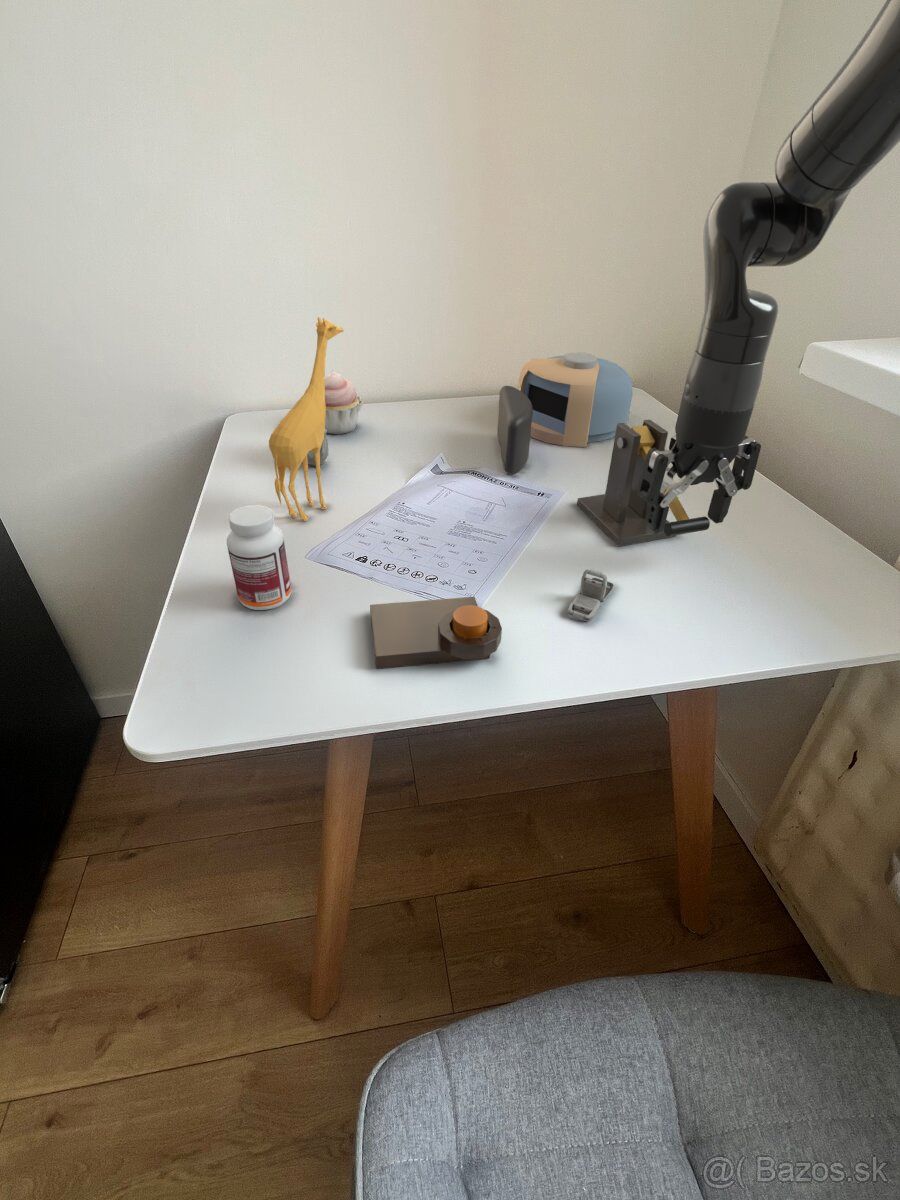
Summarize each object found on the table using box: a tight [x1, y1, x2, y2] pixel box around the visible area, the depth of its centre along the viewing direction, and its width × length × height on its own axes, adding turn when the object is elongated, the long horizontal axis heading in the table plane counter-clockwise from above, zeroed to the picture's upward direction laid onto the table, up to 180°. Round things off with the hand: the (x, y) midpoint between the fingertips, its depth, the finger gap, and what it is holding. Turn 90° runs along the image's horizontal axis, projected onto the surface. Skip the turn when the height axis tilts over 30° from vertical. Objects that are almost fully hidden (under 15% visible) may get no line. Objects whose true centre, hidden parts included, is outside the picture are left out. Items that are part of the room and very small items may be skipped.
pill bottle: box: [226, 504, 292, 611], centre depth 79 cm, size 6×6×11 cm
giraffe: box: [268, 316, 345, 522], centre depth 93 cm, size 16×4×25 cm, turn 152°
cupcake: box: [325, 370, 365, 435], centre depth 120 cm, size 9×9×10 cm
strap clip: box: [567, 568, 614, 622], centre depth 81 cm, size 8×3×4 cm, turn 150°
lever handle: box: [631, 425, 711, 538], centre depth 88 cm, size 16×6×2 cm, turn 18°
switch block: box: [369, 596, 503, 670], centre depth 75 cm, size 13×11×4 cm
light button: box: [453, 605, 488, 639], centre depth 72 cm, size 4×4×2 cm
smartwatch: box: [668, 434, 676, 451], centre depth 116 cm, size 4×2×4 cm, turn 116°
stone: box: [307, 428, 329, 467], centre depth 109 cm, size 9×7×10 cm
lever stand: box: [576, 419, 677, 547], centre depth 94 cm, size 12×9×14 cm
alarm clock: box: [517, 351, 633, 448], centre depth 123 cm, size 19×20×12 cm
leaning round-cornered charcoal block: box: [496, 385, 533, 475], centre depth 112 cm, size 16×5×9 cm, turn 1°
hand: (685, 525), depth 85 cm, fingers open, 8 cm apart
